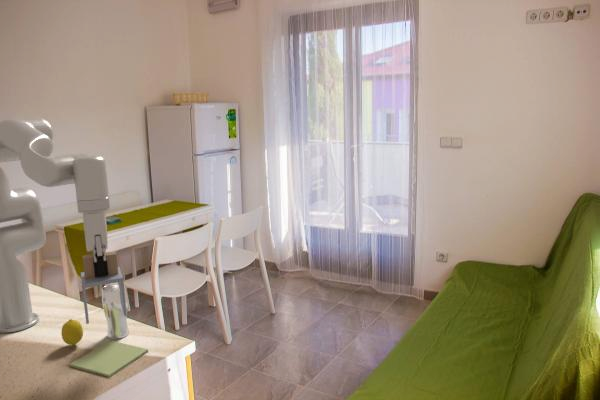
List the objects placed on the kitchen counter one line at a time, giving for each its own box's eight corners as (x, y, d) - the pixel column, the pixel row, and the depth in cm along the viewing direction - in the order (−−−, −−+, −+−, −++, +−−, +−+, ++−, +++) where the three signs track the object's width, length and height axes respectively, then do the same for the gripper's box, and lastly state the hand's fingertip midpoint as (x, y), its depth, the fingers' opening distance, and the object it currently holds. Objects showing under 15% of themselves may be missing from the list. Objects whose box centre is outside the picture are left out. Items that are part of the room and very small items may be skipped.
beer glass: (100, 338, 143) (95, 290, 140) (117, 328, 149) (112, 281, 146) (120, 341, 140) (114, 292, 137) (135, 331, 147) (131, 284, 144)
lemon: (76, 350, 136) (73, 324, 134) (58, 349, 137) (55, 323, 135) (88, 341, 141) (85, 315, 139) (71, 340, 142) (68, 314, 140)
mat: (70, 365, 128) (69, 363, 128) (110, 342, 140) (110, 340, 140) (109, 377, 122) (109, 375, 122) (148, 351, 134) (148, 349, 134)
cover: (85, 309, 131) (78, 252, 128) (123, 302, 135) (117, 247, 132) (86, 323, 122) (79, 263, 119) (126, 316, 126) (120, 257, 123)
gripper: (77, 201, 128) (84, 267, 132) (78, 212, 114) (86, 286, 117) (107, 198, 132) (114, 262, 135) (112, 209, 117) (119, 281, 121)
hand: (101, 273), depth 126 cm, fingers closed on cover, 3 cm apart
